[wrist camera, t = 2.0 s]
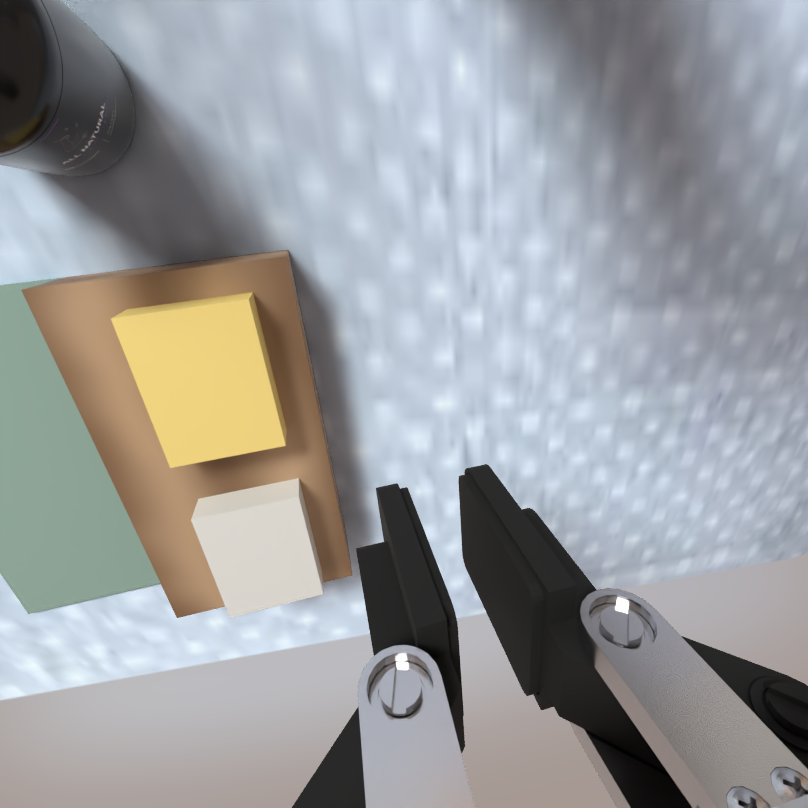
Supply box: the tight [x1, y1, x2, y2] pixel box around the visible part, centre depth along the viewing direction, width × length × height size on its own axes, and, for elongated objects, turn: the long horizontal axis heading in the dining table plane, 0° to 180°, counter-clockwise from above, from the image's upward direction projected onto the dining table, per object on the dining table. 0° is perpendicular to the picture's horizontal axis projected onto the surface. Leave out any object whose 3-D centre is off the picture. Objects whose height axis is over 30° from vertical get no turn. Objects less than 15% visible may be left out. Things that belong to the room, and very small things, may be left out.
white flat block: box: [191, 478, 323, 617], centre depth 27 cm, size 6×8×2 cm
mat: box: [0, 278, 160, 614], centre depth 27 cm, size 12×22×1 cm, turn 6°
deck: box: [21, 250, 352, 618], centre depth 27 cm, size 12×22×4 cm, turn 6°
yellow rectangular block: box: [111, 292, 287, 468], centre depth 22 cm, size 6×8×2 cm
